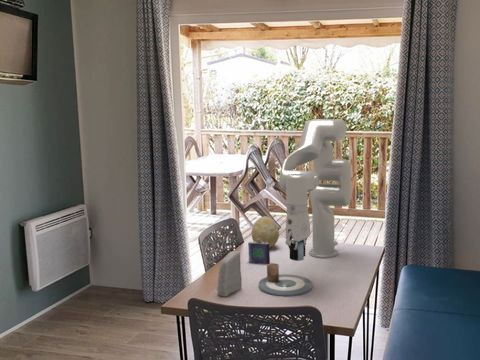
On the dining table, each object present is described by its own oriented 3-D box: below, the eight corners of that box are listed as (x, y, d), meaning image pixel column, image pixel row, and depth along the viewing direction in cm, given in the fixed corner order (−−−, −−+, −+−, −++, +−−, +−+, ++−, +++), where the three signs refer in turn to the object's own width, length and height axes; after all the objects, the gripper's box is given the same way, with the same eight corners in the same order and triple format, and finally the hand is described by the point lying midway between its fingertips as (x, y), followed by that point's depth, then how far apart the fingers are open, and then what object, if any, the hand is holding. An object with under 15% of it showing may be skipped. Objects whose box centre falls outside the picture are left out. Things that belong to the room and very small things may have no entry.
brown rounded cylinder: (281, 279, 200) (280, 264, 199) (274, 283, 196) (274, 267, 195) (271, 277, 202) (271, 262, 202) (265, 281, 199) (264, 265, 198)
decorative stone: (228, 298, 186) (226, 257, 184) (214, 295, 189) (212, 255, 187) (244, 288, 195) (242, 249, 193) (230, 285, 198) (229, 247, 196)
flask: (248, 263, 224) (247, 238, 222) (250, 260, 227) (249, 236, 225) (269, 264, 221) (268, 240, 219) (270, 262, 224) (270, 238, 222)
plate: (277, 273, 210) (277, 270, 210) (322, 283, 198) (322, 280, 198) (247, 289, 194) (247, 286, 194) (294, 300, 182) (294, 297, 182)
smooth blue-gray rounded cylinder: (305, 258, 191) (305, 242, 190) (299, 261, 188) (299, 245, 187) (295, 256, 194) (295, 240, 193) (289, 259, 190) (288, 243, 189)
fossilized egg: (282, 245, 248) (282, 214, 246) (274, 253, 237) (274, 220, 234) (257, 243, 253) (256, 212, 250) (248, 250, 241) (247, 219, 239)
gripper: (293, 214, 179) (294, 265, 182) (318, 205, 192) (318, 253, 195) (275, 211, 184) (276, 262, 186) (300, 203, 197) (300, 250, 200)
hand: (297, 257), depth 191 cm, fingers closed on smooth blue-gray rounded cylinder, 4 cm apart
